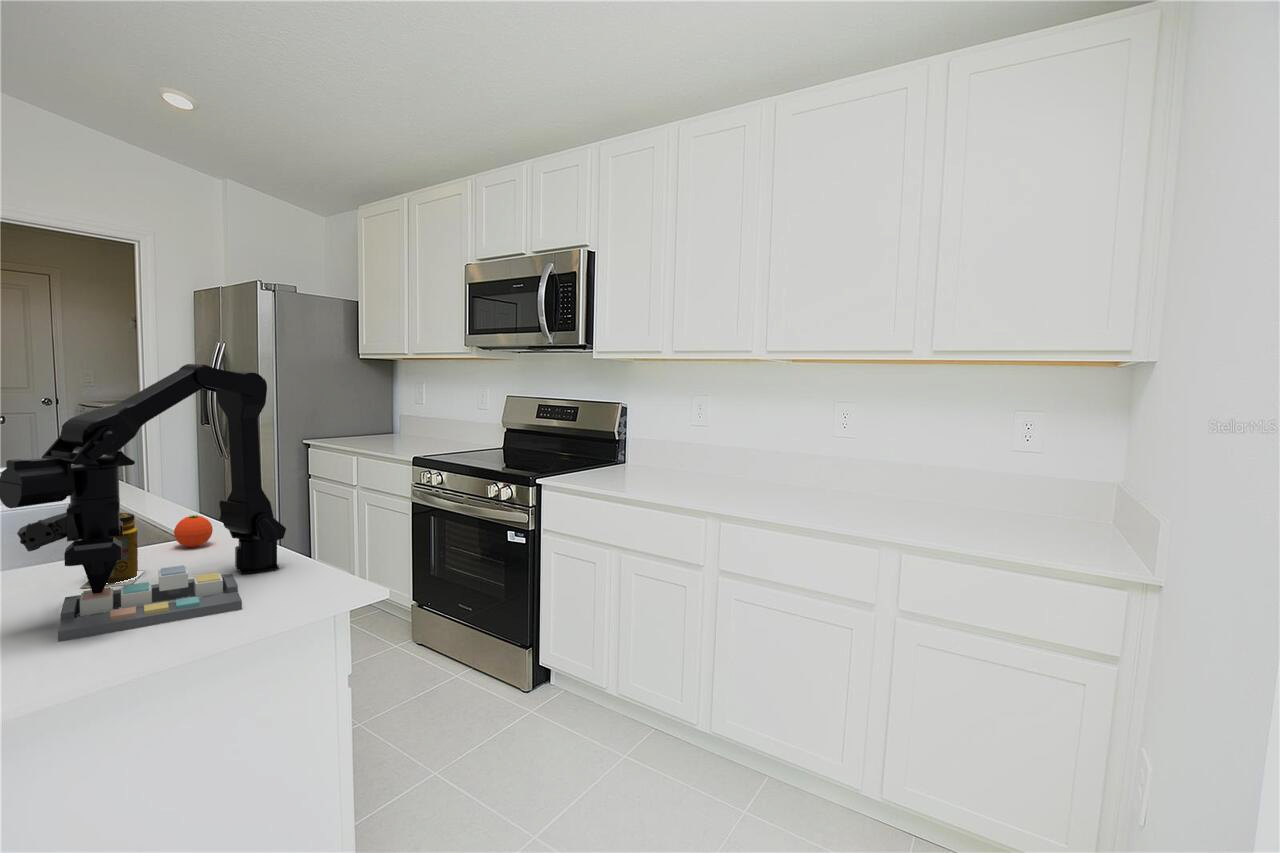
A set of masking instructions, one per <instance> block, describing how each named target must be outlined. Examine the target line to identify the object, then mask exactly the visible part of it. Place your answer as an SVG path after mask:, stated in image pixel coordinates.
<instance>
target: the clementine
mask: <svg viewBox="0 0 1280 853" xmlns="http://www.w3.org/2000/svg"><path fill="white" fill-rule="evenodd" d="M213 531H214V528H213V525H212V523H211V522H210V520H208V518H206V517H203V516H201V515H197V514H193V515H189V516H186V517H184V518H183V519H181V520H180V521H178V522H177V524H176V525H175V527H174V531H173V535H174V538H175V540H176V542H177V543H178V544H179V545H182V546H183V547H185V548H196V547H200V546H202V545H204V544H205V543H207V542H208V541H209V540H210V538H211V537H212V536H213V535H212V534H213Z"/></svg>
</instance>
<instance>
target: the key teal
mask: <svg viewBox="0 0 1280 853" xmlns="http://www.w3.org/2000/svg"><path fill="white" fill-rule="evenodd" d="M151 585H152V582H149V581H146V582H140V583H133V584H128V585H123V586H121V588H120V589H121V607H120V609H122V608H128V607H135V606H136V608H139V607H144V605H147V604H153V602H152V589H151Z"/></svg>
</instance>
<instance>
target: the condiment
mask: <svg viewBox="0 0 1280 853" xmlns="http://www.w3.org/2000/svg"><path fill="white" fill-rule="evenodd" d="M135 518H136V517H135V515H134V514H133V513H132V512H131V513H130V512H120V521H122V522H123V536H111V537H114V538H116V539H118V540H119V541H121V542H122V558H121V559H120V560H118V561H117V563H116V565H115V567H114V569H113V571H112V573H111V575H110V577H109V579H108V581H107V583H108V584H106V585H105V587H104V588H108V587H110V586H112V587H114V586H115V587H116V586H124V585H131V584H134V583H135V581H137V579H138V578H135V579H136V580H129V581H128V582H123V583H121V582H120V581H124V580H128V579H131V578H134V577H136V576H137V571H145V570H146V569H141V570H140V569H139V567H138V564H139V562H138V561H139V560H138V558H139V557H138V555H139V554H138V553H139V550H138V528H137V527H136V526H135V525H136V522H135ZM138 569H139V570H138ZM145 572H146V571H145ZM116 582H120V583H116ZM115 583H116V584H115ZM80 588H90V589H91V587H90V584H89V581H86V582H85V583H84V584H83V585H81V586H80Z"/></svg>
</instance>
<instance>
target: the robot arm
mask: <svg viewBox="0 0 1280 853" xmlns="http://www.w3.org/2000/svg"><path fill="white" fill-rule="evenodd" d="M200 390H204V391H209V392H212V393H215V395H216V399H217V403H218V405H219V407H220V409H221V410H222V411H223V414H224V415H225V416H226V418H227V427H228V446H229V447H228V448H229V464H230V478H231V492H230V494H229V495H228V496H227V498H226V499H223V500H222V499H221V500H220V501H219V509H220V516H219V521H220V522H222V523H223V527H224V528H225V529H226V530H228V531H229V533H230V536H231V538H232V539H237V540H238V545H236V546H235V547H234V558H235V559H234V567H235V569H236V570H237V571H239V574H240V575H249V574H255V573H261V572H262V573H263V572H271V571H274V570H275V571H277V570H279V569H280V566H279V564H278V541H279V540H283V539H284V537H285V534H286V531H287V528H286V527H285V526H284V525H283V524H282V523H281V522H279V521H278V520H277V519H276V518H274V511H273V507H272V504H271V501H270V499H269V497H267V494H266V493H265V491H264V490H263V487H262V474H261V473H262V472H261V471H262V470H261V469H262V468H261V452H260V432H259V431H260V430H259V429H260V428H259V416H260V414H261V412H262V411H263V409H264V407H265V406H266V402H267V394H268V391H267V390H268V384H267V381H266V378H264V377H262V375H260V374H259V373H256V372H251V371H233V370H232V371H231V370H225V369H220V368H216V367H213V366H210V365H208V364H198V363H187V364H185V365H184V364H183V365H182V366H181V367H180V368H179V369H177V370H176V371H175V372H173V373H171V374H168V375H167V376H165V377H163V378H162V379H159V380H158V381H156V382H155V383H152V384H150V385H149V386H148V387H147V386H146V388H143V389H141V390H140V391H139V392H137V393H135V394H133V395H131V396H129V397H128V398H126V399H124V400H122V401H120V402H118V403H115V404H112V405H110V406H104V407H101V408H97V409H92V410H90V411H88V412H84V413H82V414H79V415H77V416H76V415H75V416H74V417H70V418H69V419H68V420H67V421H65V422H64V423H63V425H61V431H60V434H59V436H58V437H57V438H56V440H55V441H54V442H53V443H52V445H50V446H49V447H48V449H47V450H46V451H45V452H44V453H43V455H42V456H41V458H33V459H32V458H31V459H20V458H18V459H17V458H16V459H8V460H6V461H5V462H6V465H5V466H6V468H5V469H4V470H2V472H1V473H0V501H1V503H2V504H3V505H4V506H5V507H6V508H8V509H17V508H23V507H30V506H37V505H44V504H51V503H59V502H63V501H65V500H66V499H67V498H68V497H70V498H69V499H70V500H69V504H68V506H67V508H66V511H65V512H63V513H60V514H56V515H53V516H50V517H48V518H44V519H39V520H38V521H36V522H31V523H28V524H27V525H24V526H21V527H20V528H19V529H18V531H17V533H16V534H17V536H18V537H19V539H20V541H19V543H20V544H21V545H23V546H24V547H25V549H26V550H27V552H28V553H29V552H33V551H36V550H39V549H40V548H41V547H44V546H46V545H49V544H52V543H55V542H58V541H61V540H64V539H65V538H66V542H71V544H69V545H68V546H67V547H66V548H65V550H64V553H63V554H64V567H75V566H77V567H78V566H82V567H83V569H84V572H85V574H86V577H87V580H88V581H89V584H90V590H92V593H93V594H96V593H102V592H103V590H104V588H106V587H105V585H106V583H107V581H108V579H109V577H110V575H111V573H112V571H113V569H114V567H115V565H116V563H117V561H118V560H120V559H121V558H122V542H121V541H119V540H118V539H116V538H114V537H111V536H123V522H122V521H120V513H121V512H120V510H121V509H120V505H121V500H120V471H119V467H126V466H133V465H135V464H136V462H135V460H133V459H132V458H130V457H128V456H127V455H125V453H124V452H123V451H121V449H122V448H123V447H124V446H126V445H127V444H128V443H129V442H130V441H132V440H133V439H134V438H135V437H136V435H137V434H138V432H139V431H140V429H141V428H142V427H143V426H144V425H145V424H146V423H147V422H149V421H151V420H152V419H154V418H156V417H157V416H159V415H161V414H162V413H164V412H166V411H167V410H169V409H170V408H172V407H174V406H176V405H177V404H179V403H180V402H182V401H184V400H185V399H187V398H189V397H191V396H192V395H194V394H196V393H198V391H200Z"/></svg>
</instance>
